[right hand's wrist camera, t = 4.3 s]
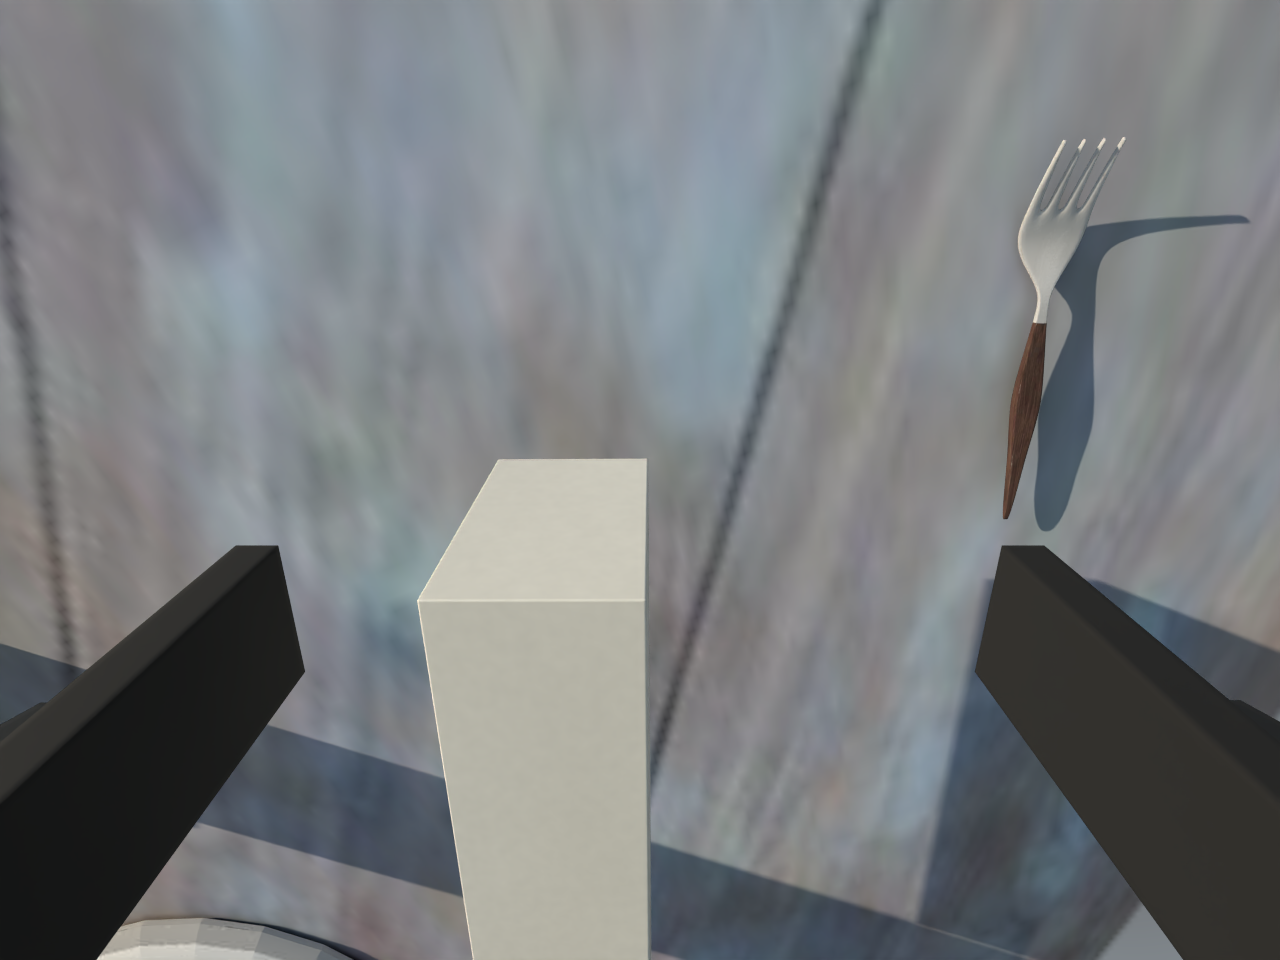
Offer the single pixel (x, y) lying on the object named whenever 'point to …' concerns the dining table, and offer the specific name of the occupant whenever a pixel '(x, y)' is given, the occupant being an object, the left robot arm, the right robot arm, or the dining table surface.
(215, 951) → the wall clock
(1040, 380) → the fork
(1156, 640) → the right robot arm
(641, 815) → the bar
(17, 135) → the dining table surface
